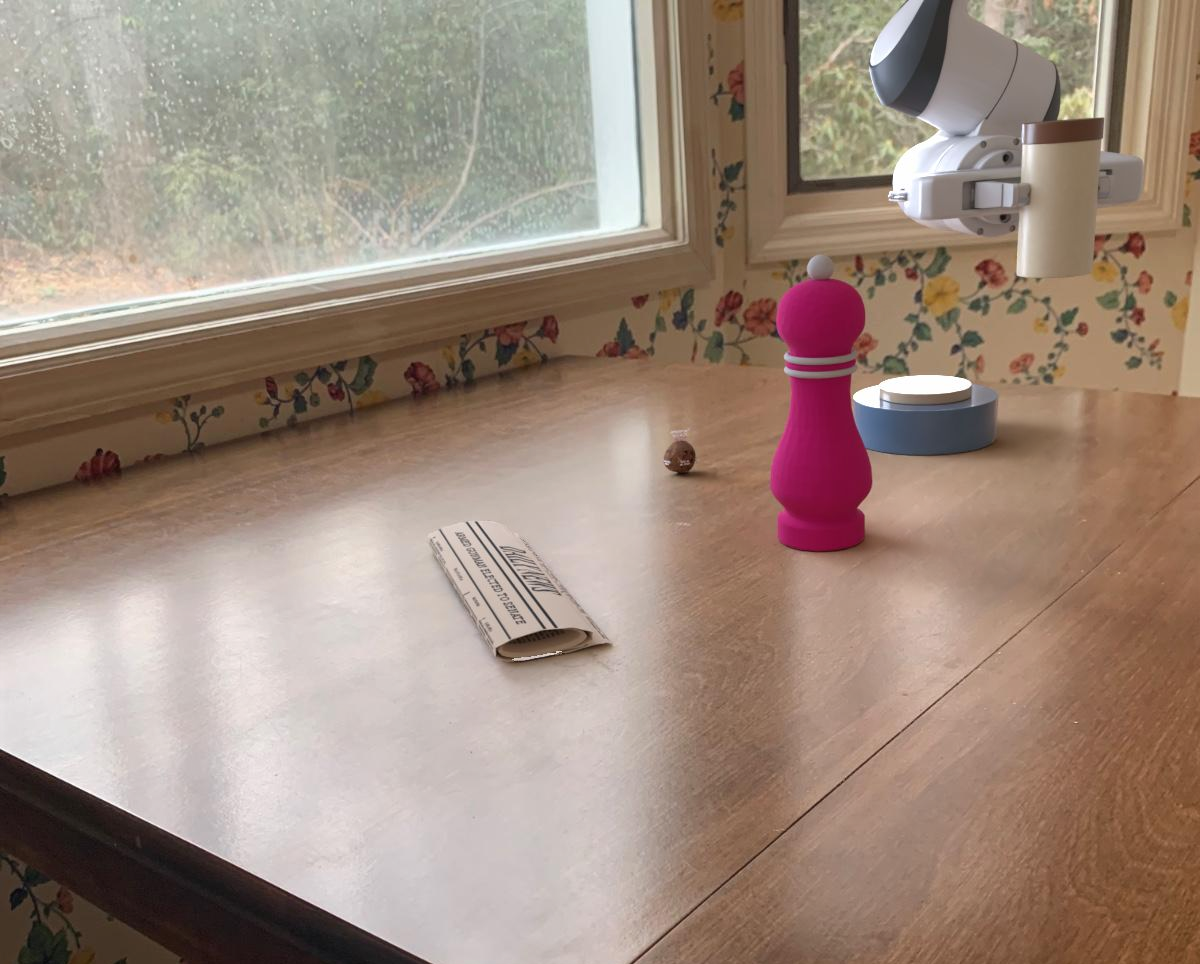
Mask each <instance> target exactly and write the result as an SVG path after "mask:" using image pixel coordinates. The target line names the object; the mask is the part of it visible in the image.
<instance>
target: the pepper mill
mask: <svg viewBox="0 0 1200 964" xmlns="http://www.w3.org/2000/svg"><path fill="white" fill-rule="evenodd" d="M834 270H835V265H834V261H833V260H832V259H831V258H830V257H829V256H828V255H825V254H816V255H815V256H813V257H812V258H810V259H809V262H808V263H807V267H806V272H807V275H808V276H809V279H806V280H803V281H800V282H798V283H796V284H795V285H793V286H792V287H790V288H789V289H788V290H787V291H786V292H785V293H784V294H783V295H782V297H781V300H780V301H779V303H778V306H777V310H776V317H775V318H776V319H775V321H776V322H775V324H776V331H777V333H778V335H779V337H780V339H781V340H782V341H783V342H784V343H785V344H786V345H787V347H788V351H786V352H785V353H784V354H783V359H784V360H785V366H784V368H783V371H784V373H785V375H786V376H789V381H790V402H789V403H790V404H789V411H788V415H787V416H788V417H787V419H786V420H787V421H786V424H785V427H784V430H783V432H782V435H781V438H780V440H779V443H778V445H777V448H776V450H775V452H774V455H773V459H772V463H771V467H770V479H769V489H770V491H771V495H773V498H775V499H776V501H777V502H778V503H779V504H780V505H781V506H782V507H783V508H784V509H782V510H781V511H780V512H779V513H778V515H777V518H776V520H777V523H776V524H777V525H776V526H777V539H778V541H779V542H780V543H781V544H783V545H784V546H786V547H788V548H792V549H796V550H800V551H808V552H809V551H810V552H830V551H839V550H844V549H845V550H846V549H849V548H851V547H854V546H857V545H859V544H860V543H862V542H863V540H864V539H865V535H866V516H865V515H866V514H865V513H864V512H863V510H861V509H859V508H858V507H859V506H860V505H861V504H862V503H863V502H864V500H866V498H867V497H868V496H869V494H870V492H871V491H872V488H873V470H872V469H873V468H872V464H871V461H870V456H869V452H868V451H867V448H865V445H864V443H863V441H862V438H861V436H860V434H859V431H858V429H857V426H856V423H855V420H854V416H853V405H852V395H851V389H852V388H851V387H852V386H851V385H852V376H853V375H852V374H854V373H856V372H857V370H858V367H859V366H858V365H857V357H858V356H859V354H858V351H857V350H856V349H855V348H853V346H854V344H855V343H856V342H857V340H858V339H859V337H860V336H861V335H862V333H863V332H864V329H865V326H866V308H865V303H864V301H863V297H862V295H861V294H860V293H859V291H858V290H857V289H856V288H855V287H854V286H853V285H851V284H850V283H847V282H846V281H844V280H841V279H837V278H832V276H833V274H834Z"/></svg>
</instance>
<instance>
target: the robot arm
mask: <svg viewBox="0 0 1200 964" xmlns="http://www.w3.org/2000/svg"><path fill="white" fill-rule="evenodd" d="M969 2H970V0H905V1H904V2H903V4H902V5H901V6H900V7H899V9H898V10H897V11H895V13H894V15H893V16H892V17H891V18H890V19H889V21H888V22H887V23H886V24H885V26H884V27H883V29H882V31H881V32H880V33H879V35H878V36H877V39H876V41H875V42H874V45H873V47H872V50H871V53H870V55H869V59H868V70H869V74H870V75H869V76H870V80H871V82H872V86H873V89H874V92H875V94H876V96H877V98H878V100H879V102H880V104H881V105H882V106H884V107H886V108H889V109H892V110H894V111H897V112H900V113H902V114H903V115H904V114H905V115H907V116H909V117H912V118H918V119H919V120H921V121H923V122H925V123H927V124H929V125H931V126H933V127H934V128H937V129H938V130H939V131H938V132H936V133H935V134H934V135H933V136H932V137H930V138H929V139H927V140H925V141H923V142H920V143H918V144H916V145H915V146H913V147H911V148H909V150H907V151H906V152H905V153H904V154H903V155H902V156H901V157H900V159H899V160H898V161H897V164H896V166H895V168H894V172H893V177H892V188H893V190H892V191H891V190H890V191H889V194H888V196H887V197H888V201H889V202H894V203H897V204H898V206H899V207H900V209H901V211H902V212H903V213H904V215H905V216H907V217H908V218H910V219H911V220H912V221H914V222H915V223H917V224H919V225H922V226H924V227H927V228H930V229H934V230H937V231H944V232H957V233H960V234H963V235H970V236H975V237H983V238H1001V237H1003V236H1008V235H1010V234H1011V233H1014V232H1015V231H1018V228H1019V208H1020V206H1027V205H1028V204H1029V200H1030V197H1029V195H1028V194H1029V192H1030V185H1029V183H1021V167H1022V146H1023V144H1021V140H1022V124H1023V123H1030V122H1042V121H1054V120H1058V119H1059V115H1060V111H1061V97H1062V95H1061V94H1062V93H1061V91H1062V90H1061V80H1060V74H1059V71H1058V67H1057V65H1056V63H1054V62H1053V61H1052V60H1050V59H1048V58H1046V57H1045V56H1044V55H1041V54H1040V53H1038V52H1037V51H1034V50H1033V49H1031V48H1029V47H1028V46H1027V45H1024V44H1022V43H1021V42H1019V41H1017V40H1015V39H1014V38H1009V37H1008V36H1006V35H1004V34H1002V33H1001V32H999V31H997V30H995V29H993V28H992V27H990V26H988V25H986V24H985V23H982V22H981V21H979V20H977V19H975V18H974V17H972V16H971V15H970V14H969V13H968V4H969ZM1144 179H1145V165H1144V160H1143V159H1142V158H1141V157H1139V156H1137V155H1132V154H1126V153H1119V152H1112V151H1104V150H1101V156H1100V170H1099V184H1098V198H1097V209H1101V208H1109V207H1110V208H1111V207H1118V206H1125V205H1130V204H1134V203H1136V202H1138V201H1139V200H1140V199H1141V196H1142V193H1143V188H1144Z"/></svg>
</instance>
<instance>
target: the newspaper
mask: <svg viewBox="0 0 1200 964" xmlns="http://www.w3.org/2000/svg"><path fill="white" fill-rule="evenodd" d="M518 534H519V533H516V532H515V533H512V532H511V531H510V530H509V529H508V527H507V526H506V525H505V524H503V523H500V522H496V521H491V520H471V521H469V520H468V521H461V522H457V523H454V524H450V525H446V526H443V527H439V528H438V529H436V530H434V531H432V532H430V533H428V534H427V535H426V536H427V544H428V545H429V547H430V549H431V551H432V552H433V555H434V556H435V557H436V559H437V561H438V562H439V564H440V566H441V568H442V569H443V571H444V573H445V574H446V576H447V578H448V580H449V581H450V583H451V585H452V587H453V589H455V591H456V593H457V594H458V597H459V599H460V601H461V602H462V603H463V605H464V607H465V608H466V610H467V612H468V613H469V615H470V616H471V618H472V620H473V622H474V623H475V625H476V627H477V628H478V630H479V632H480V634H481V636H482V637H483V639H484V640H485V642H486V644H487V646H488V647H489V649H490V651H491V652H492V654H493V656H494V658H496V659H499V660H501V661H503V662H510V663H511V662H512V663H514V660H512V659H514V658H521V657H531V656H537V655H543V654H547V653H556V651H562V652H559V653H557V654H554V655H555V656H559V654H560V655H563V654H562V653H565V654H568V653H572V652H575V651H579V650H581V649H585V648H588V647H591V646H596V645H601V644H602V645H603V644H610V645H612V642H611V641H610V640H609V639H608V637H607V636H606V635H605V634H604V632H602V630H601V629H600V628H599V626H598V625H597V624H596V623H595V622H594V621H593V619H592V618H591V617H590V616H589V615H588V613H586V612H585V610H584V609H583V608H582V607H581V605H580V604H579V603H578V602H577V601H576V600H575V598H574V597H573V596H572V595H571V593H569V591H568V590H567V589H566V588H565V587H564V585H563V584H562V583H561V582H560V581H559V579H557V577H556V576H555V575H554V573H552V571H551V570H550V569H549V568H548V567H547V565H546V564H545V563H544V562H543V561H542V560H541V558H540V557H539V556H538V555H537V554H536V553H535V552H534V553H535V554H536V555H537V556H536V555H535V554H534V553H533V551H534V550H533V549H532V550H533V551H532V550H530V548H531V547H530V546H529V545H528V546H529V547H530V548H529V547H528V546H527V545H526V544H525V543H524V541H525V540H524V539H523V540H524V541H523V540H522V539H521V538H520V537H519V535H520V534H519V535H518ZM538 557H539V558H538ZM543 563H544V564H545V565H544V564H543ZM549 570H550V571H551V572H550V571H549Z"/></svg>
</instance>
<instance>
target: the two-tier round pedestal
mask: <svg viewBox="0 0 1200 964" xmlns="http://www.w3.org/2000/svg"><path fill="white" fill-rule="evenodd" d="M999 396H1000V395H999V393H998V392H997V391H996V390H994V389H993V388H990V387H988V386H984V385H980V384H976V383H975V384H974V383H973V382H971V381H970V380H967V379H965V378H963V377H962V378H961V377H955V376H947V375H911V376H910V375H909V376H902V377H901V376H900V377H895V378H890V379H887V380H885V381H882V382H880V383H879V384H878V385H873V386H870V387H866V388H863V389H861V390H859V391H857V392H856V393H854V394H853V396H852V411H853V416H854V420H855V423H856V426H857V429H858V431H859V434H860V436H861V438H862V441H863V443H864V445H865V448H866V450H867V449H868V450H871V451H874V452H880V453H885V454H886V453H887V454H893V455H905V456H907V455H908V456H938V455H939V456H941V455H953V454H961V453H967V452H972V451H977V450H979V449H980V450H981V449H983V448H986V447H988V446H990V445H992V444H993V443H995V442H996V440H997V432H998V413H999Z"/></svg>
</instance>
